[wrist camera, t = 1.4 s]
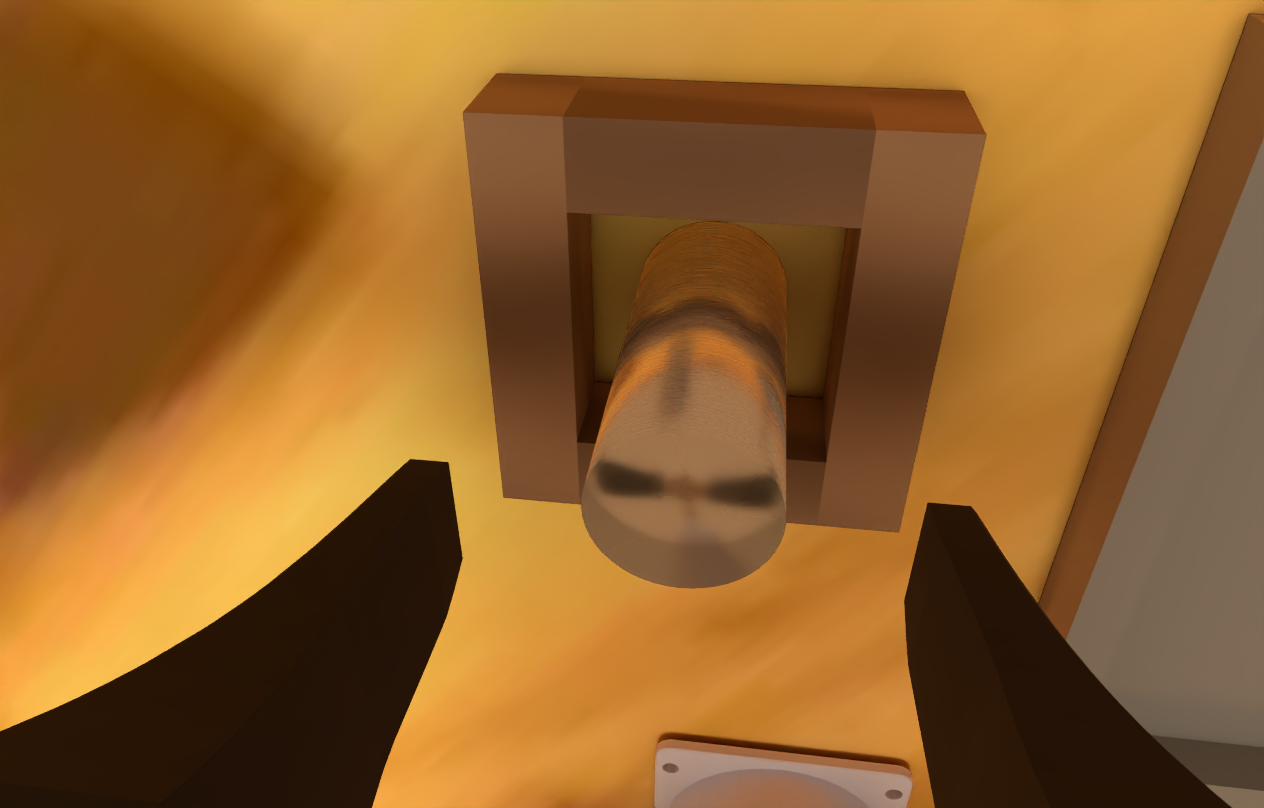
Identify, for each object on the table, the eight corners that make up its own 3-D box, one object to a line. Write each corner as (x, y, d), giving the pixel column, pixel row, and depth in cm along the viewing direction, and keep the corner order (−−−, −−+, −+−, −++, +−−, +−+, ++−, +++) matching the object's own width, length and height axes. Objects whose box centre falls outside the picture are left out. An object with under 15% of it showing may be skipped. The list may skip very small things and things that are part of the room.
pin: (779, 355, 21) (776, 597, 15) (640, 345, 22) (584, 578, 16) (793, 225, 20) (796, 442, 14) (641, 216, 20) (577, 424, 14)
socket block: (889, 465, 23) (898, 532, 21) (526, 435, 24) (503, 497, 22) (963, 91, 18) (986, 134, 16) (496, 73, 19) (462, 112, 17)
